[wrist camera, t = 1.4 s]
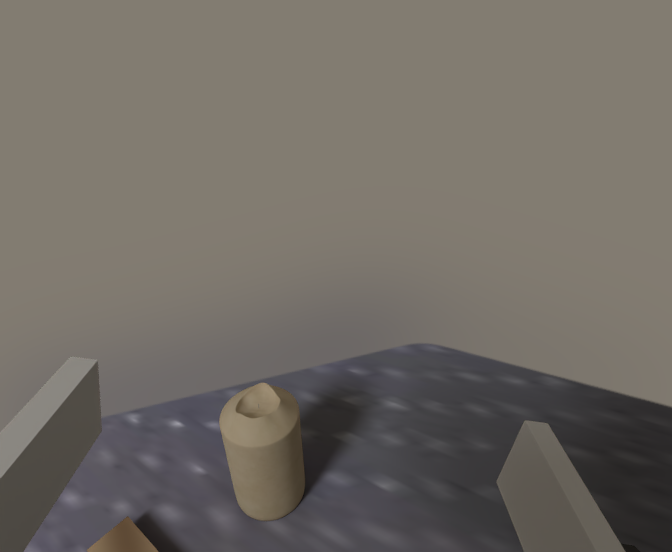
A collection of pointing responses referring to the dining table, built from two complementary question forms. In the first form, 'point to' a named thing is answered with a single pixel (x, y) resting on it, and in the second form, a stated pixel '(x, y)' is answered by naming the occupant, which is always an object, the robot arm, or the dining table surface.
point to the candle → (264, 451)
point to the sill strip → (123, 540)
